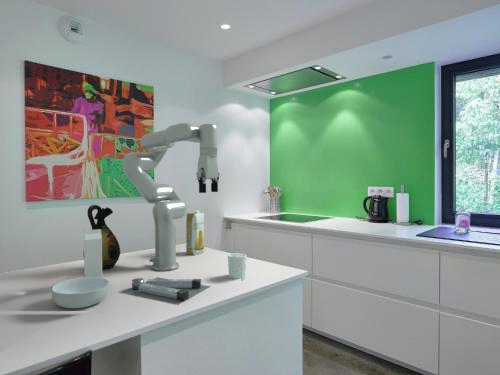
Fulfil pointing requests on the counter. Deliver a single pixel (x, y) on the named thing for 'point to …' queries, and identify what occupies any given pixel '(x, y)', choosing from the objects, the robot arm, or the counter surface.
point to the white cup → (237, 265)
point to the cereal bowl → (80, 292)
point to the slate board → (161, 298)
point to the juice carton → (195, 233)
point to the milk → (93, 253)
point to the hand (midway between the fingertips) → (208, 192)
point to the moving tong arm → (168, 283)
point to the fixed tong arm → (164, 291)
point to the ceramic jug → (105, 236)
